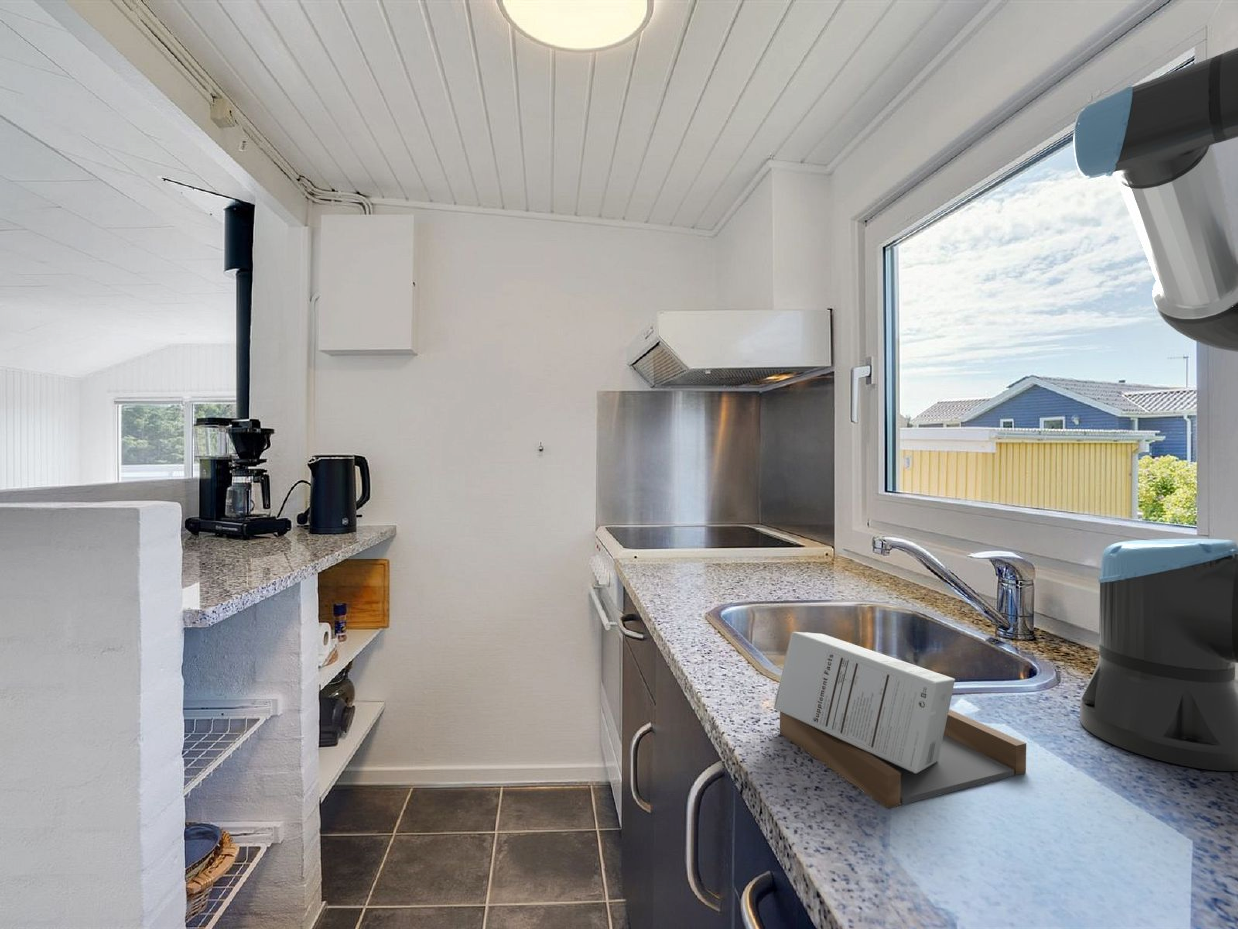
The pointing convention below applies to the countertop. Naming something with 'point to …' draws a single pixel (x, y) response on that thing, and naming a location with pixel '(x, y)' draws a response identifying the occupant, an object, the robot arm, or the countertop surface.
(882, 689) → the supplement box
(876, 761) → the rails
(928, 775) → the mat
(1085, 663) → the countertop surface
